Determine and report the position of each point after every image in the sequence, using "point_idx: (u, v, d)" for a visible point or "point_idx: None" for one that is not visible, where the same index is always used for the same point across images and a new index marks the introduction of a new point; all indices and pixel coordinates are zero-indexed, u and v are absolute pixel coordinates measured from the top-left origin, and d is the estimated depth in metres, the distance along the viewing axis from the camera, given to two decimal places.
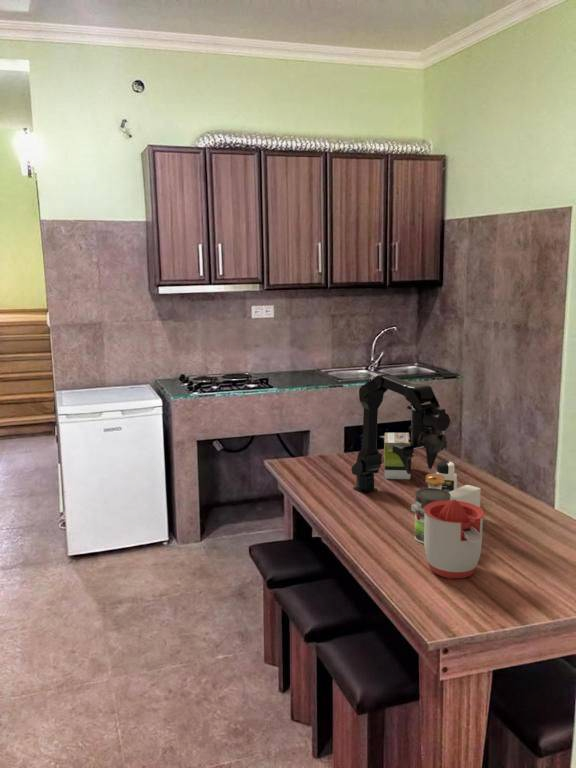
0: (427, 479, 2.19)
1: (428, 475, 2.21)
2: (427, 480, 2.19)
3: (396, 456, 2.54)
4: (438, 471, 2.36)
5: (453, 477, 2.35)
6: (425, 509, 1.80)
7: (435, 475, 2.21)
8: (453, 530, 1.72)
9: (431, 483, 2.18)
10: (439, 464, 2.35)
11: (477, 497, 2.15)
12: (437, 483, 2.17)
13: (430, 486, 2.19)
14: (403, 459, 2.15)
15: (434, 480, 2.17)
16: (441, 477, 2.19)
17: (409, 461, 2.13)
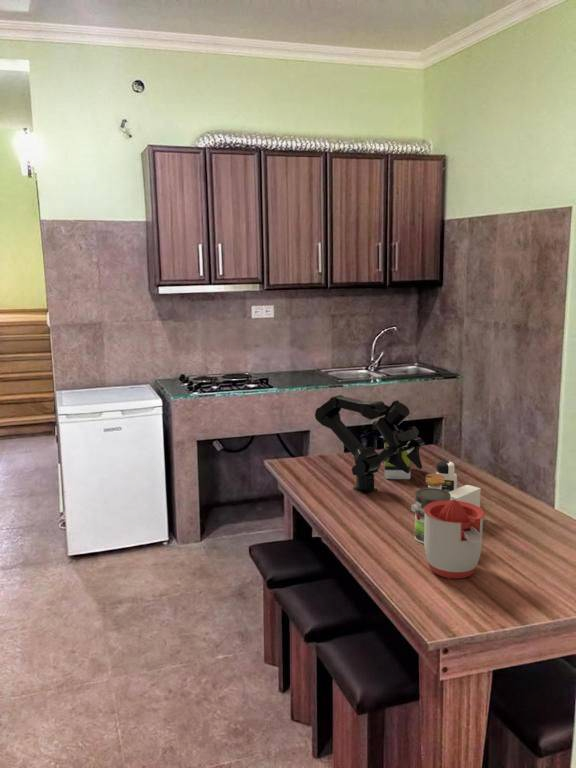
0: (427, 479, 2.19)
1: (428, 475, 2.21)
2: (427, 480, 2.19)
3: None
4: (438, 471, 2.36)
5: (453, 477, 2.35)
6: (425, 509, 1.80)
7: (435, 475, 2.21)
8: (453, 530, 1.72)
9: (431, 483, 2.18)
10: (439, 464, 2.35)
11: (477, 497, 2.15)
12: (437, 483, 2.17)
13: (430, 486, 2.19)
14: (396, 463, 2.26)
15: (434, 480, 2.17)
16: (441, 477, 2.19)
17: (401, 459, 2.24)
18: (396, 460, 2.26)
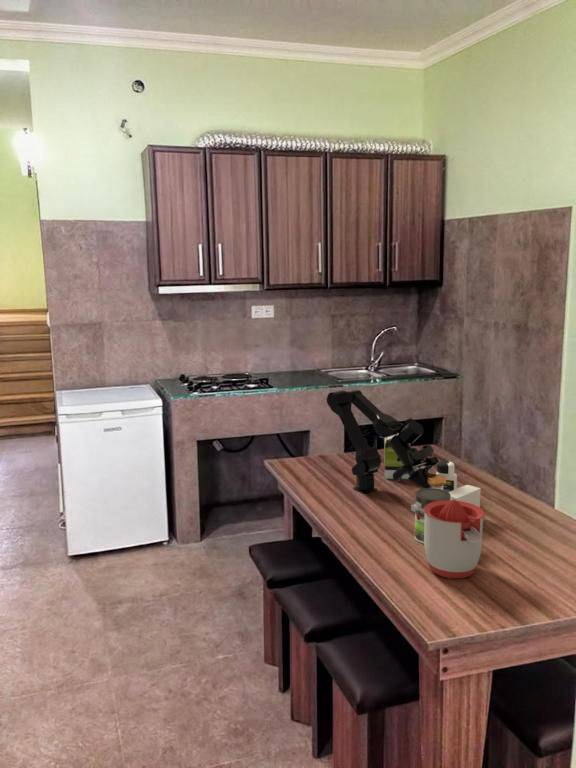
0: (429, 479, 2.19)
1: (430, 475, 2.21)
2: (429, 480, 2.19)
3: (396, 456, 2.54)
4: (438, 471, 2.36)
5: (453, 477, 2.35)
6: (425, 509, 1.80)
7: (437, 475, 2.21)
8: (453, 530, 1.72)
9: (433, 483, 2.17)
10: (439, 464, 2.35)
11: (477, 497, 2.15)
12: (439, 483, 2.17)
13: (432, 486, 2.19)
14: (417, 480, 2.24)
15: (436, 480, 2.17)
16: (443, 477, 2.18)
17: (422, 476, 2.23)
18: (417, 477, 2.24)
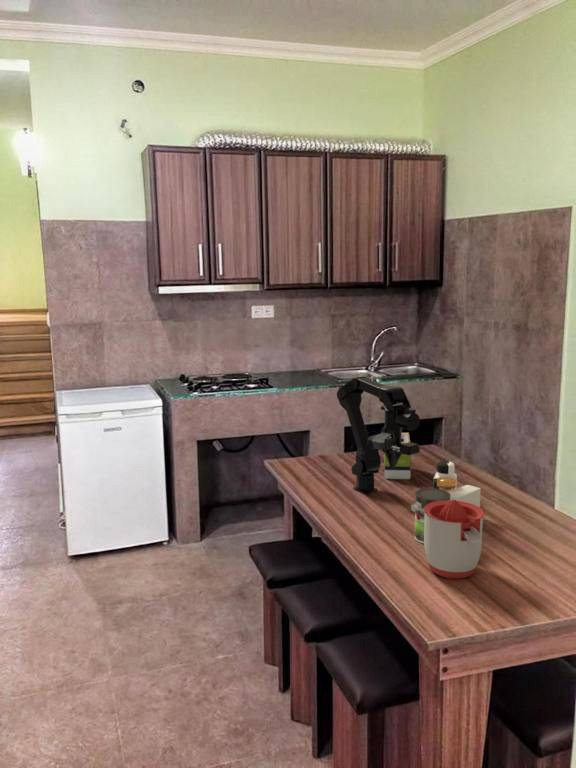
0: (439, 482, 2.16)
1: (439, 478, 2.18)
2: (439, 483, 2.16)
3: None
4: (438, 471, 2.36)
5: (453, 477, 2.35)
6: (425, 509, 1.80)
7: (447, 478, 2.18)
8: (453, 530, 1.72)
9: (443, 486, 2.15)
10: (439, 464, 2.35)
11: (477, 497, 2.15)
12: (449, 486, 2.14)
13: (442, 489, 2.16)
14: None
15: (446, 483, 2.14)
16: (453, 480, 2.16)
17: (387, 455, 2.29)
18: None
